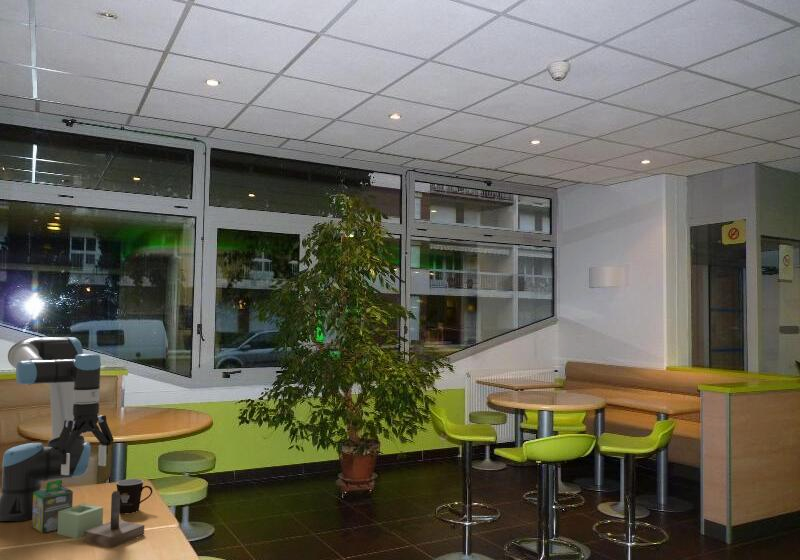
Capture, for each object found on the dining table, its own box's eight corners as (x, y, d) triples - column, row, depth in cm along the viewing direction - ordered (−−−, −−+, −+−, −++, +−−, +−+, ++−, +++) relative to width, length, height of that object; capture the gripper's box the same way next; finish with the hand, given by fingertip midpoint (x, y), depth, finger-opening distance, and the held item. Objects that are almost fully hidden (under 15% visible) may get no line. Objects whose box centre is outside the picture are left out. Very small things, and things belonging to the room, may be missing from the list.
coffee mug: (109, 512, 220) (111, 483, 220) (130, 505, 227) (131, 477, 228) (133, 517, 214) (134, 487, 215) (153, 511, 222) (154, 481, 222)
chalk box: (61, 520, 211) (62, 475, 212) (72, 526, 205) (74, 480, 206) (30, 527, 204) (32, 480, 205) (41, 534, 198) (43, 485, 199)
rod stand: (83, 541, 192) (85, 493, 193) (116, 529, 203) (118, 484, 204) (111, 547, 187) (113, 498, 188) (144, 535, 198) (145, 488, 199)
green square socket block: (57, 534, 198) (58, 511, 198) (82, 525, 206) (83, 503, 206) (77, 538, 194) (78, 515, 194) (102, 529, 202) (103, 507, 203)
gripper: (59, 407, 190) (56, 480, 189) (126, 398, 213) (124, 463, 212) (42, 406, 193) (39, 477, 192) (110, 397, 216) (108, 461, 215)
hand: (84, 470), depth 202 cm, fingers open, 13 cm apart
